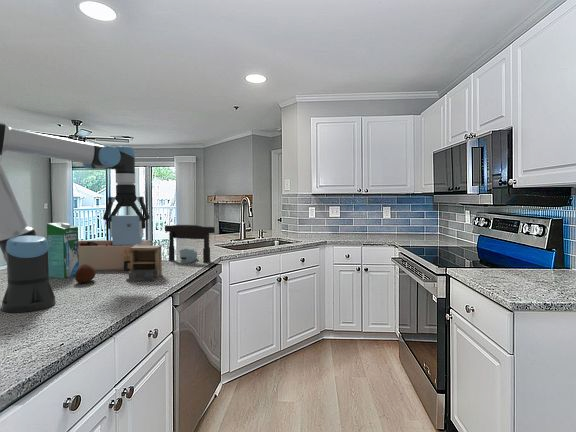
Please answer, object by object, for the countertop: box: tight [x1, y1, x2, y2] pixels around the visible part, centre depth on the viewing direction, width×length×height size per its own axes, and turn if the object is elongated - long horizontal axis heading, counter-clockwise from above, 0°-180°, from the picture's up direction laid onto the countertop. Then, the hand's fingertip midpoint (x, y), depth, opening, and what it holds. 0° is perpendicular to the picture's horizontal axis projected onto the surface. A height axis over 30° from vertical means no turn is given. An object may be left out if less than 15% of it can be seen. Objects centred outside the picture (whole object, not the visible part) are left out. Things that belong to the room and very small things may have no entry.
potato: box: [74, 264, 96, 284], centre depth 171 cm, size 8×12×8 cm, turn 10°
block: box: [111, 214, 143, 245], centre depth 164 cm, size 4×11×12 cm, turn 94°
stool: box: [164, 224, 216, 264], centre depth 228 cm, size 16×21×33 cm
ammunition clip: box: [123, 247, 130, 272], centre depth 199 cm, size 11×2×12 cm, turn 108°
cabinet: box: [125, 245, 163, 282], centre depth 180 cm, size 14×12×14 cm
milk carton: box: [46, 221, 79, 279], centre depth 184 cm, size 9×9×25 cm
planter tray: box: [78, 239, 150, 271], centre depth 214 cm, size 27×38×12 cm
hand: (127, 236), depth 165 cm, fingers closed on block, 11 cm apart
